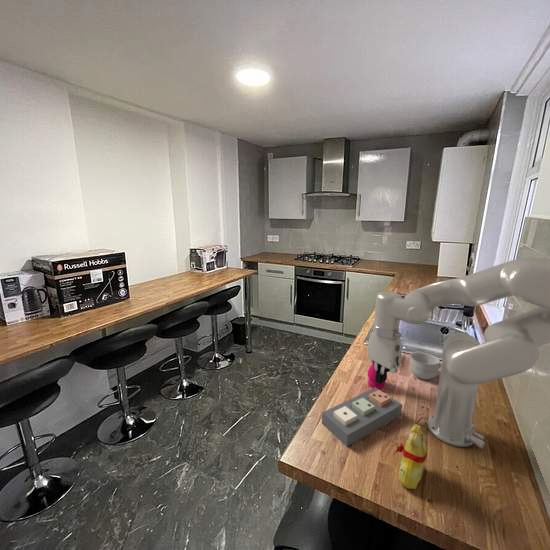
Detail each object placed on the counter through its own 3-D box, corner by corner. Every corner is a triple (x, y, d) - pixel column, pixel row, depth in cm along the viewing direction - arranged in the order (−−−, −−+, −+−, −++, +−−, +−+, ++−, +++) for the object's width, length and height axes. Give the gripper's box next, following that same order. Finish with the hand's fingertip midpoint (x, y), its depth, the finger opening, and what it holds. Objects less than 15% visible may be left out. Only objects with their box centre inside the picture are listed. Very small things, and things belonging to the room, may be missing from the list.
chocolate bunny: (427, 465, 78) (434, 417, 75) (416, 496, 70) (423, 444, 66) (401, 452, 82) (406, 406, 79) (387, 479, 74) (392, 429, 71)
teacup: (403, 374, 120) (405, 357, 118) (415, 365, 127) (417, 348, 125) (440, 390, 110) (443, 371, 108) (450, 378, 117) (453, 360, 115)
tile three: (390, 406, 98) (391, 397, 97) (380, 412, 96) (381, 402, 95) (377, 398, 102) (378, 389, 101) (368, 403, 100) (368, 394, 99)
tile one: (356, 425, 90) (357, 414, 89) (344, 431, 87) (345, 421, 87) (344, 415, 94) (345, 405, 93) (333, 421, 92) (333, 411, 91)
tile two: (374, 415, 94) (374, 405, 93) (363, 421, 91) (364, 411, 91) (362, 406, 98) (362, 397, 97) (351, 412, 96) (352, 402, 95)
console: (401, 414, 97) (402, 404, 96) (346, 446, 84) (347, 435, 83) (374, 396, 106) (375, 387, 105) (321, 423, 93) (322, 412, 92)
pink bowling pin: (387, 391, 109) (392, 342, 104) (367, 389, 111) (371, 340, 106) (384, 380, 116) (389, 334, 111) (365, 378, 117) (369, 332, 113)
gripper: (414, 337, 88) (407, 390, 93) (374, 320, 101) (370, 368, 105) (398, 342, 85) (392, 398, 89) (359, 325, 97) (355, 374, 101)
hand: (380, 381), depth 97 cm, fingers closed
